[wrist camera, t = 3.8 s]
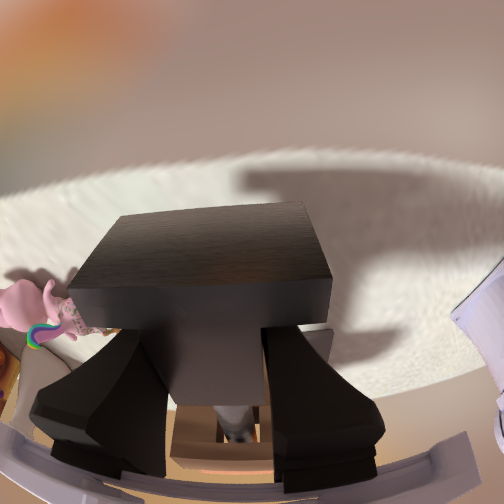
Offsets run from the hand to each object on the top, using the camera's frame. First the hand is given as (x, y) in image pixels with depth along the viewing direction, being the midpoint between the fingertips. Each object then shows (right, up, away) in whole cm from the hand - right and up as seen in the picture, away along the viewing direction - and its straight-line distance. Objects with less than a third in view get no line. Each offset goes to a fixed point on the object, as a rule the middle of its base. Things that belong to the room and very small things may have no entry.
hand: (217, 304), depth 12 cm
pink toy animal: (-15, -1, +7) cm, 17 cm away
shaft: (0, -4, +3) cm, 5 cm away
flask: (-22, -10, +13) cm, 27 cm away
